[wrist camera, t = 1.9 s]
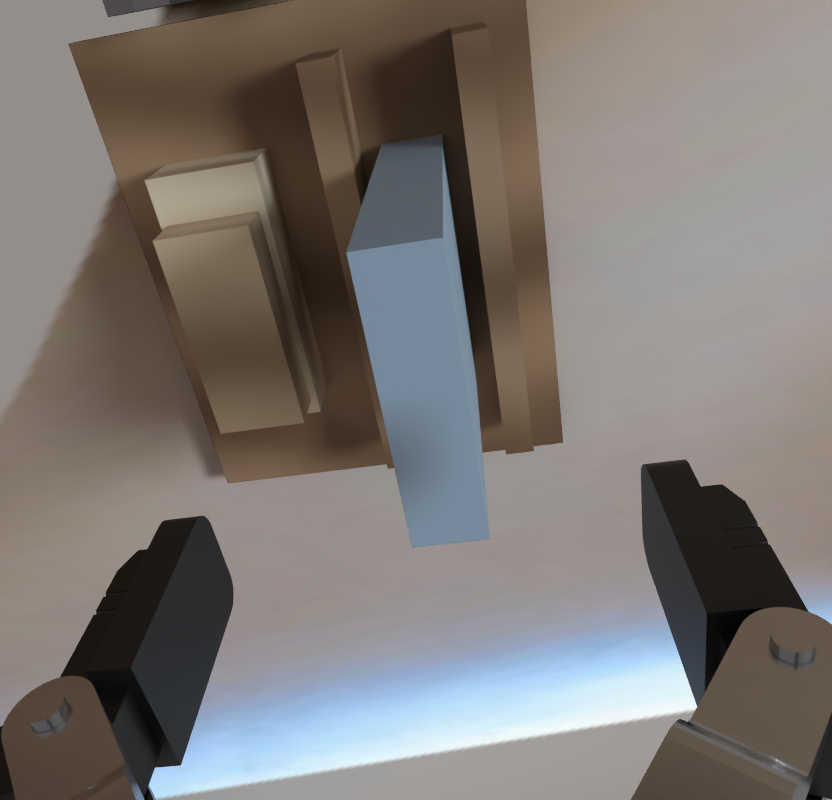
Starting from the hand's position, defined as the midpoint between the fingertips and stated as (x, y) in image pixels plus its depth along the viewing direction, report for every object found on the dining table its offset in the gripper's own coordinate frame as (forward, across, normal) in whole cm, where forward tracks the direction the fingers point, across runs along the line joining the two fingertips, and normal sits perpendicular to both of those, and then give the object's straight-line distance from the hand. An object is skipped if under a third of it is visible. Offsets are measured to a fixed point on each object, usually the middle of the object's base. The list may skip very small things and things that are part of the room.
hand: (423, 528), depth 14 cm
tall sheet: (+14, 0, 0) cm, 15 cm away
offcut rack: (+15, +3, 0) cm, 16 cm away
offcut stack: (+14, +6, 0) cm, 16 cm away
